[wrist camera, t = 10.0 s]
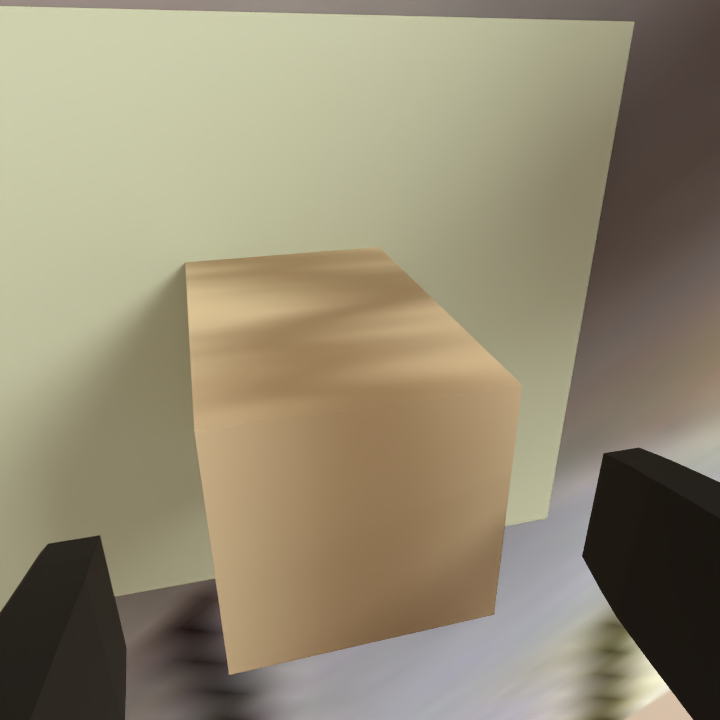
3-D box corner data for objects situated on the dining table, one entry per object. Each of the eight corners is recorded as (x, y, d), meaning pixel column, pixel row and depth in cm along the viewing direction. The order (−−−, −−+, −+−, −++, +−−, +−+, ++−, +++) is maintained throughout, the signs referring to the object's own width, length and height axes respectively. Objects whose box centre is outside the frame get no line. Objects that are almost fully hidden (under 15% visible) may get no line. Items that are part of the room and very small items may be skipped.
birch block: (378, 247, 15) (522, 384, 9) (377, 409, 17) (494, 614, 11) (185, 262, 14) (194, 430, 8) (207, 432, 16) (228, 675, 10)
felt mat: (617, 22, 15) (634, 21, 14) (537, 506, 21) (546, 518, 20) (-196, 2, 11) (-216, 0, 10) (0, 600, 17) (-6, 618, 16)
